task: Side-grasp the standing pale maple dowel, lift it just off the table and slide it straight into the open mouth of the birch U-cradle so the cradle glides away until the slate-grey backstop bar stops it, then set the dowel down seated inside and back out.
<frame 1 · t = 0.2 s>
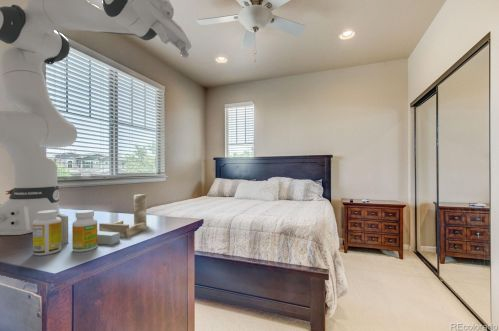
hand: (176, 49, 69), 54 cm above the table, tool tilted 30°, fingers open, 8 cm apart
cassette: (58, 241, 72), on the table
dowel: (140, 226, 88), on the table
supplement bottle: (85, 249, 64), on the table
cradle: (123, 226, 80), point 2 cm above the table, slide at 0.0 cm
supplement bottle 2: (47, 253, 62), on the table
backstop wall: (97, 241, 70), on the table
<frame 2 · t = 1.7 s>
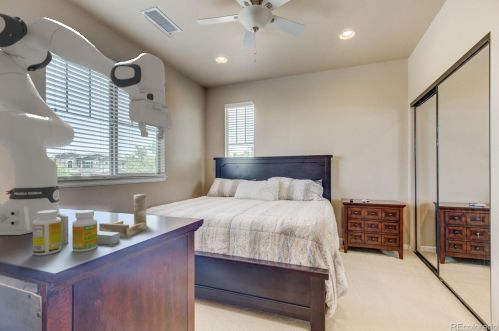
hand: (152, 138, 91), 31 cm above the table, tool pointing down, fingers open, 8 cm apart
nothing on the table moved.
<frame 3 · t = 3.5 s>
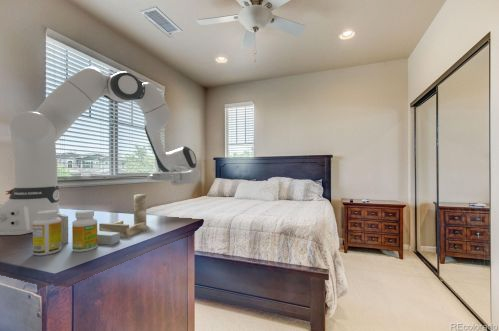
hand: (160, 177, 99), 17 cm above the table, tool horizontal, fingers open, 8 cm apart
nothing on the table moved.
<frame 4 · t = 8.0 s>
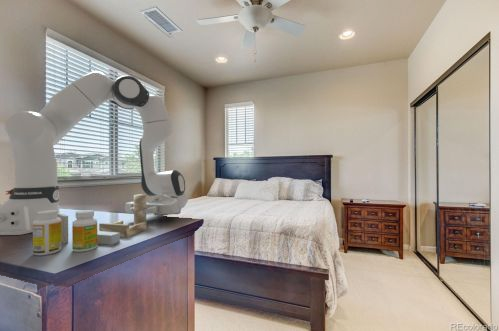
hand: (138, 210, 87), 6 cm above the table, tool horizontal, fingers closed on dowel, 4 cm apart
dowel: (140, 226, 88), on the table, touching gripper
everything else where it was.
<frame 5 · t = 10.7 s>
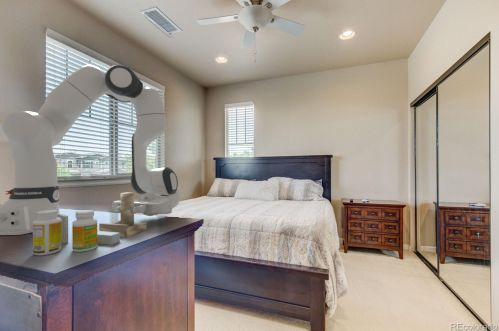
hand: (125, 210, 81), 7 cm above the table, tool horizontal, fingers closed on dowel, 4 cm apart
dowel: (127, 226, 82), point 1 cm above the table, touching gripper
everything else where it was.
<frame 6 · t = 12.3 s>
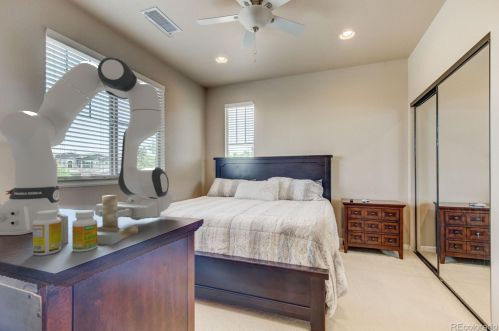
hand: (107, 214, 74), 7 cm above the table, tool horizontal, fingers closed on dowel, 4 cm apart
dowel: (110, 232, 75), point 1 cm above the table, touching cradle, gripper
cradle: (114, 229, 76), point 2 cm above the table, slide at 4.0 cm, touching dowel
everything else where it was.
when the fingers open (6 cm above the table, at t = 13.6 s): dowel stays where it is, on the table.
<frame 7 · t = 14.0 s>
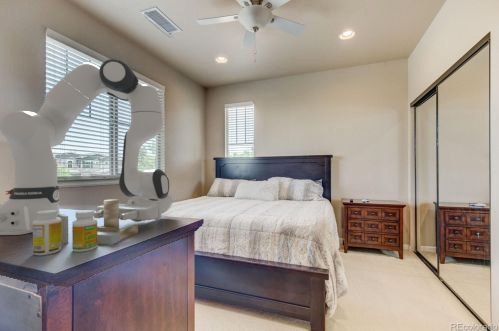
hand: (108, 216, 74), 6 cm above the table, tool horizontal, fingers open, 8 cm apart
dowel: (111, 236, 75), on the table
cradle: (114, 229, 76), point 2 cm above the table, slide at 4.0 cm, touching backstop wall
everything else where it was.
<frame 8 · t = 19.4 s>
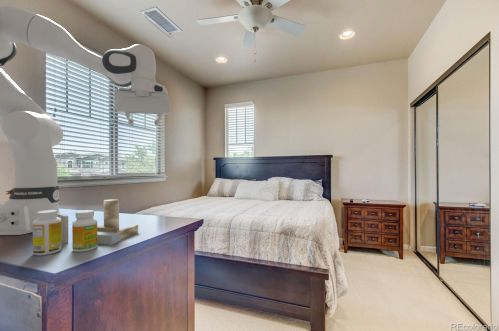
hand: (144, 124, 96), 37 cm above the table, tool pointing down, fingers open, 8 cm apart
nothing on the table moved.
at the end: cradle slide at 4.0 cm; dowel 0.5 cm from the target spot, on the table; dowel tilted 0° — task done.
